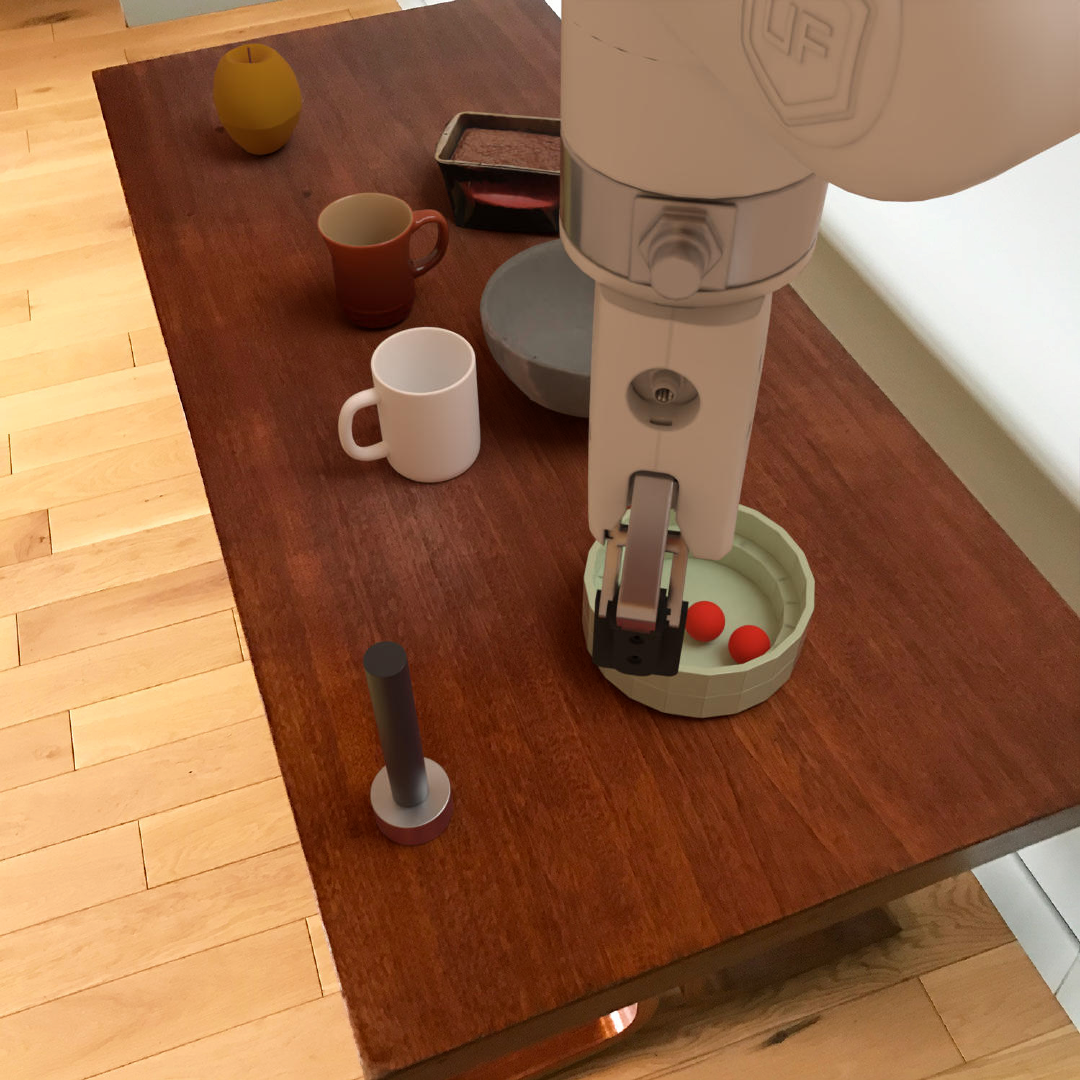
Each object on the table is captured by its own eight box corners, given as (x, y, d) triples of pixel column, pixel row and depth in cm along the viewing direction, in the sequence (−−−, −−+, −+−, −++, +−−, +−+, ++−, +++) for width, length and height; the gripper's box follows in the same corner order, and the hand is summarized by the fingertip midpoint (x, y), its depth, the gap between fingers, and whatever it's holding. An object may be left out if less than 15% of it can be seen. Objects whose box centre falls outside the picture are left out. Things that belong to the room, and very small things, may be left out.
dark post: (453, 843, 73) (432, 696, 59) (373, 848, 72) (334, 701, 59) (452, 772, 76) (432, 617, 63) (376, 776, 76) (339, 622, 62)
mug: (345, 347, 105) (328, 255, 97) (324, 293, 111) (307, 202, 103) (466, 319, 108) (460, 228, 100) (440, 268, 113) (432, 178, 105)
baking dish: (476, 171, 129) (456, 91, 121) (627, 172, 123) (616, 88, 116) (438, 251, 120) (414, 170, 113) (597, 254, 115) (583, 170, 107)
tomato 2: (776, 645, 81) (765, 678, 80) (736, 638, 83) (725, 670, 81) (773, 620, 79) (762, 654, 78) (732, 613, 80) (721, 646, 79)
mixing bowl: (797, 737, 78) (812, 690, 73) (567, 703, 79) (568, 655, 75) (802, 560, 88) (816, 509, 83) (599, 534, 90) (601, 483, 85)
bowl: (752, 407, 99) (769, 318, 92) (559, 496, 93) (560, 407, 85) (624, 290, 111) (630, 201, 103) (444, 361, 104) (435, 272, 96)
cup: (497, 464, 95) (493, 373, 87) (367, 514, 91) (350, 424, 84) (455, 406, 100) (447, 315, 92) (330, 452, 96) (311, 361, 88)
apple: (295, 174, 125) (276, 73, 116) (212, 167, 126) (187, 66, 117) (320, 129, 131) (303, 30, 122) (240, 123, 132) (218, 24, 123)
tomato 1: (691, 590, 81) (731, 603, 80) (690, 601, 84) (729, 613, 83) (678, 629, 80) (719, 642, 79) (678, 638, 83) (717, 651, 82)
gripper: (821, 403, 26) (729, 770, 39) (827, 53, 37) (754, 429, 50) (502, 368, 27) (517, 738, 40) (602, 36, 38) (588, 410, 51)
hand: (649, 566), depth 45 cm, fingers open, 9 cm apart
